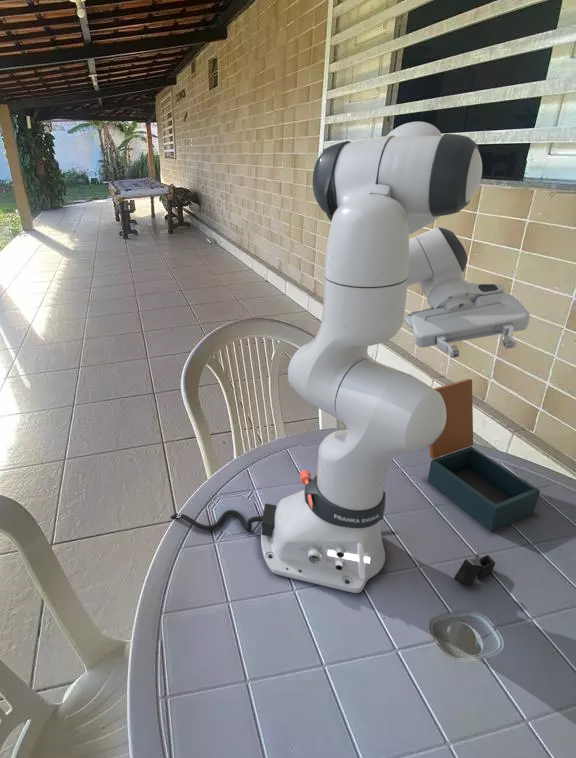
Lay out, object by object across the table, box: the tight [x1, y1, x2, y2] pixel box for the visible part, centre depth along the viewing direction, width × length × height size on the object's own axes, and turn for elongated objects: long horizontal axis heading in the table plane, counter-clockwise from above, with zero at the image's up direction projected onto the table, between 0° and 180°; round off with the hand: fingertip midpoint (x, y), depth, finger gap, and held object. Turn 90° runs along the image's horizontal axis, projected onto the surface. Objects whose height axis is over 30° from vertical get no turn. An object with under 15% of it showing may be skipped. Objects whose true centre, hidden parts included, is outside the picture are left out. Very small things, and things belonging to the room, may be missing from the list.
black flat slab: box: [455, 468, 511, 504], centre depth 88 cm, size 11×8×1 cm
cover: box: [429, 378, 474, 460], centre depth 91 cm, size 15×12×1 cm
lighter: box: [453, 553, 496, 586], centre depth 72 cm, size 8×2×5 cm
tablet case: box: [427, 446, 541, 532], centre depth 87 cm, size 15×12×6 cm
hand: (482, 350), depth 80 cm, fingers open, 8 cm apart
